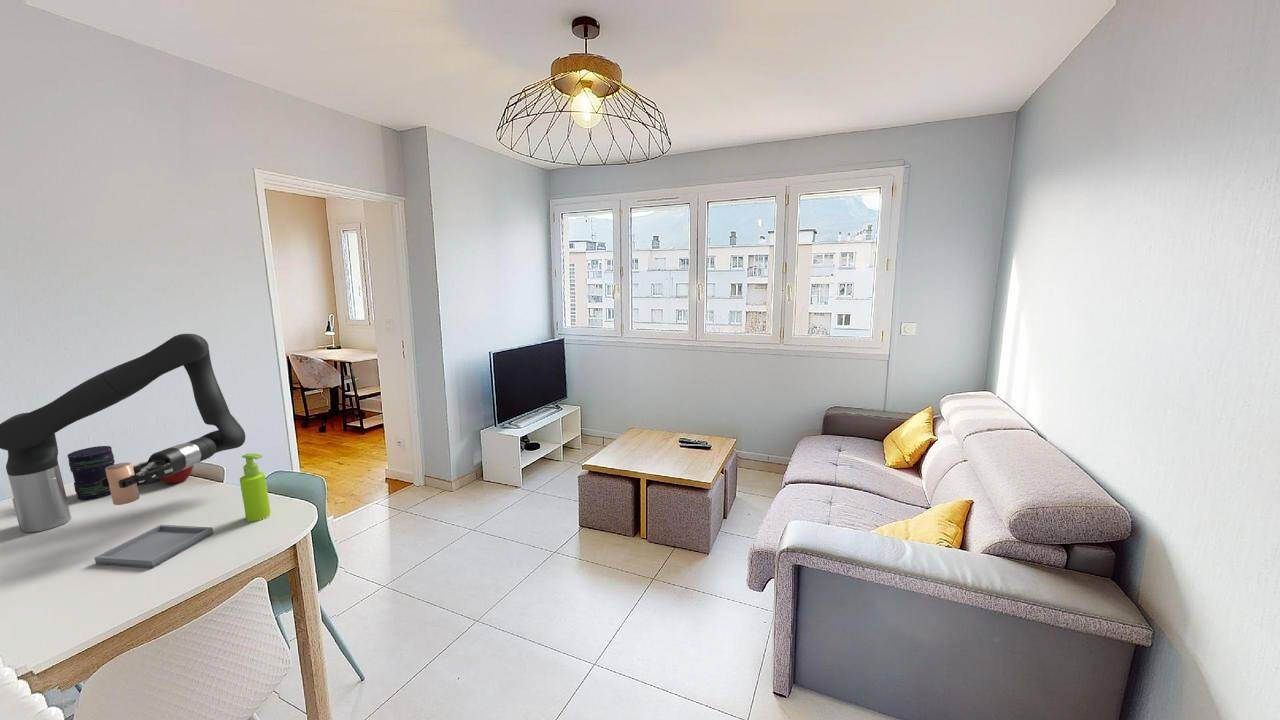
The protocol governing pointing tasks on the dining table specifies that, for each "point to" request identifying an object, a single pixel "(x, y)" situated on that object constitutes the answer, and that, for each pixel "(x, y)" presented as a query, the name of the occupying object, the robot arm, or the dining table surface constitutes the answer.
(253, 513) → the soap dispenser
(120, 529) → the dining table surface
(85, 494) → the storage jar
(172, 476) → the apple
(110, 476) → the cup
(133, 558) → the tray
